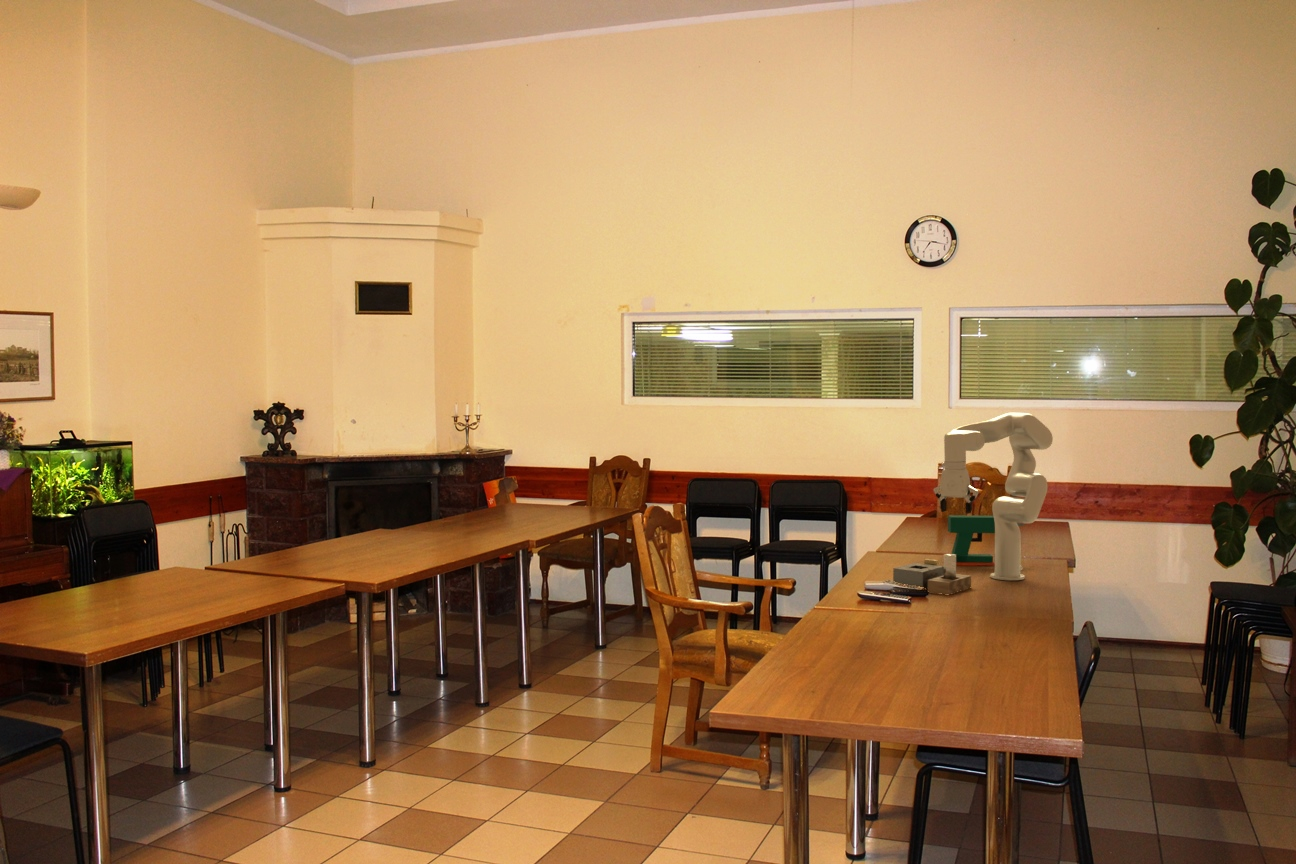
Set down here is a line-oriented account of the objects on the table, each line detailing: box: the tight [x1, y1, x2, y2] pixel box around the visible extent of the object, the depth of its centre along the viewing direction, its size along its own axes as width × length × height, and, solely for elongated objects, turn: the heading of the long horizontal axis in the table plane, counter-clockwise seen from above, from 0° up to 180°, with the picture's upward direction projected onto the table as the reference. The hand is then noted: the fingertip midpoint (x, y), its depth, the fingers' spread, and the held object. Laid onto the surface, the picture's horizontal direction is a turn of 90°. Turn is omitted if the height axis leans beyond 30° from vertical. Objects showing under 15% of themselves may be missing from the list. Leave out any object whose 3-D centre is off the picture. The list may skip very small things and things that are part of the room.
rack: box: [927, 573, 972, 595], centre depth 387 cm, size 18×8×4 cm, turn 138°
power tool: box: [947, 514, 1027, 566], centre depth 442 cm, size 32×7×20 cm, turn 84°
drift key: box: [923, 558, 939, 566], centre depth 401 cm, size 8×5×7 cm, turn 138°
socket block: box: [892, 562, 944, 589], centre depth 396 cm, size 16×12×7 cm
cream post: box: [943, 553, 957, 580], centre depth 387 cm, size 4×4×13 cm
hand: (956, 512), depth 391 cm, fingers open, 9 cm apart
